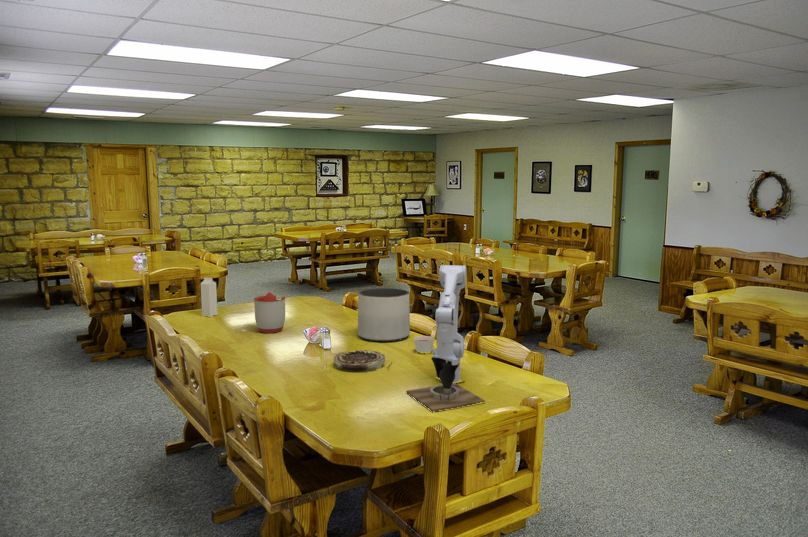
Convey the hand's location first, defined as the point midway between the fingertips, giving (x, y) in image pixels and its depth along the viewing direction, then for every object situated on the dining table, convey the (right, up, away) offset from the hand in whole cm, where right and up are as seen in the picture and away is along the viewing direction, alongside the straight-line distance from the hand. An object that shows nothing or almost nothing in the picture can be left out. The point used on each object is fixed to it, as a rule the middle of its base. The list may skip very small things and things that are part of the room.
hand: (444, 379), depth 206 cm
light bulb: (+1, -6, +1) cm, 6 cm away
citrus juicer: (-81, +7, +96) cm, 126 cm away
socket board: (0, -7, +1) cm, 7 cm away
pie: (-33, -2, +39) cm, 51 cm away
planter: (-24, +5, +85) cm, 89 cm away
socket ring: (0, -7, +1) cm, 7 cm away
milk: (-124, +12, +129) cm, 179 cm away
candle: (-5, +1, +58) cm, 58 cm away
